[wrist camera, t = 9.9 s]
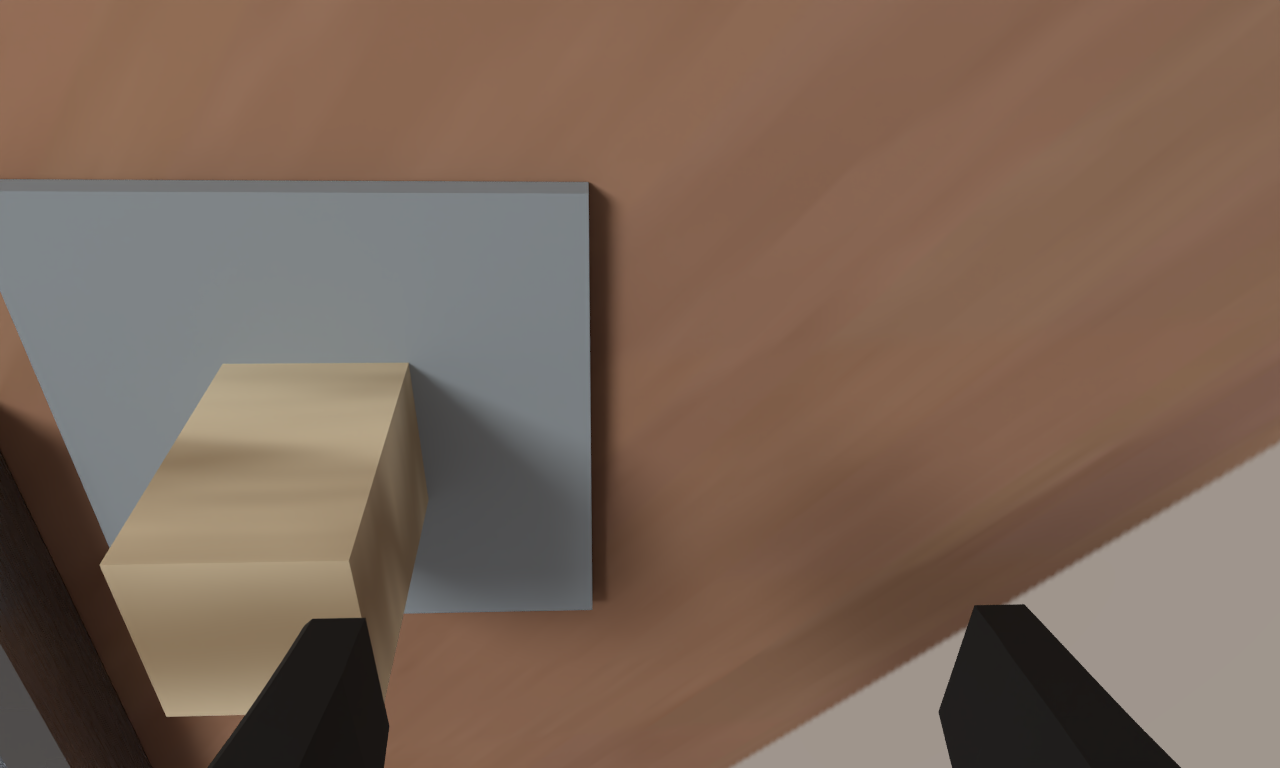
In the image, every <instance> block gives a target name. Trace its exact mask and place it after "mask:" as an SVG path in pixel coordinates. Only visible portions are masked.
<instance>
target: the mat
mask: <svg viewBox="0 0 1280 768" xmlns="http://www.w3.org/2000/svg"><path fill="white" fill-rule="evenodd" d="M0 292H1V294H2V296H3V299H4V301H5V303H6V306H7V308H8V310H9V313H10V315H11V317H12V320H13V322H14V324H15V327H16V329H17V332H18V334H19V336H20V339H21V341H22V343H23V346H24V348H25V350H26V353H27V355H28V357H29V360H30V362H31V364H32V367H33V369H34V371H35V374H36V376H37V379H38V381H39V383H40V386H41V388H42V390H43V393H44V395H45V397H46V400H47V402H48V404H49V407H50V409H51V411H52V414H53V416H54V419H55V421H56V423H57V426H58V428H59V430H60V433H61V435H62V437H63V440H64V442H65V444H66V447H67V449H68V451H69V454H70V456H71V458H72V461H73V463H74V466H75V468H76V470H77V473H78V475H79V477H80V480H81V482H82V484H83V487H84V489H85V491H86V494H87V496H88V498H89V501H90V503H91V505H92V508H93V510H94V513H95V515H96V517H97V520H98V522H99V524H100V527H101V529H102V531H103V534H104V536H105V538H106V541H107V543H108V545H109V548H110V547H111V545H112V544H113V542H114V540H115V539H116V537H117V536H118V534H119V532H120V531H121V529H122V527H123V526H124V524H125V522H126V521H127V519H128V518H129V516H130V514H131V513H132V511H133V509H134V508H135V506H136V504H137V503H138V501H139V500H140V498H141V496H142V495H143V493H144V491H145V490H146V488H147V487H148V485H149V483H150V482H151V480H152V478H153V477H154V475H155V473H156V472H157V470H158V469H159V467H160V465H161V464H162V462H163V460H164V459H165V457H166V455H167V454H168V452H169V451H170V449H171V447H172V446H173V444H174V442H175V441H176V439H177V438H178V436H179V434H180V433H181V431H182V429H183V428H184V426H185V424H186V423H187V421H188V420H189V418H190V416H191V415H192V413H193V411H194V410H195V408H196V406H197V405H198V403H199V402H200V400H201V398H202V397H203V395H204V393H205V392H206V390H207V389H208V387H209V385H210V384H211V382H212V380H213V379H214V377H215V375H216V374H217V372H218V371H219V369H220V367H221V366H222V364H275V363H409V368H410V375H411V382H412V389H413V396H414V403H415V410H416V417H417V424H418V430H419V437H420V444H421V451H422V458H423V465H424V472H425V479H426V486H427V493H428V499H429V500H428V505H427V509H426V514H425V518H424V523H423V527H422V532H421V537H420V541H419V546H418V550H417V555H416V559H415V564H414V569H413V573H412V578H411V582H410V587H409V591H408V596H407V601H406V605H405V610H404V613H454V612H505V611H555V610H592V512H591V401H590V289H589V182H456V181H246V180H35V179H0Z"/></svg>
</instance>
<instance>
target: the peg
mask: <svg viewBox="0 0 1280 768" xmlns="http://www.w3.org/2000/svg"><path fill="white" fill-rule="evenodd" d="M428 500H429V499H428V493H427V486H426V479H425V472H424V465H423V458H422V451H421V444H420V437H419V430H418V424H417V417H416V410H415V403H414V396H413V389H412V382H411V375H410V368H409V363H275V364H222V366H221V367H220V369H219V371H218V372H217V374H216V375H215V377H214V379H213V380H212V382H211V384H210V385H209V387H208V389H207V390H206V392H205V393H204V395H203V397H202V398H201V400H200V402H199V403H198V405H197V406H196V408H195V410H194V411H193V413H192V415H191V416H190V418H189V420H188V421H187V423H186V424H185V426H184V428H183V429H182V431H181V433H180V434H179V436H178V438H177V439H176V441H175V442H174V444H173V446H172V447H171V449H170V451H169V452H168V454H167V455H166V457H165V459H164V460H163V462H162V464H161V465H160V467H159V469H158V470H157V472H156V473H155V475H154V477H153V478H152V480H151V482H150V483H149V485H148V487H147V488H146V490H145V491H144V493H143V495H142V496H141V498H140V500H139V501H138V503H137V504H136V506H135V508H134V509H133V511H132V513H131V514H130V516H129V518H128V519H127V521H126V522H125V524H124V526H123V527H122V529H121V531H120V532H119V534H118V536H117V537H116V539H115V540H114V542H113V544H112V545H111V547H110V549H109V550H108V552H107V553H106V555H105V557H104V558H103V560H102V562H101V563H100V567H101V570H102V572H103V574H104V577H105V579H106V581H107V583H108V586H109V588H110V590H111V592H112V595H113V597H114V599H115V601H116V604H117V606H118V608H119V611H120V613H121V615H122V617H123V620H124V622H125V624H126V626H127V629H128V631H129V633H130V635H131V638H132V640H133V642H134V644H135V647H136V649H137V651H138V654H139V656H140V658H141V660H142V663H143V665H144V667H145V669H146V672H147V674H148V676H149V678H150V681H151V683H152V685H153V687H154V690H155V692H156V694H157V697H158V699H159V701H160V703H161V706H162V708H163V710H164V712H165V715H166V717H179V716H218V715H246V713H247V712H248V710H249V709H250V707H251V706H252V705H253V703H254V702H255V700H256V699H257V697H258V696H259V694H260V693H261V691H262V690H263V688H264V687H265V685H266V684H267V683H268V681H269V680H270V678H271V676H272V675H273V673H274V672H275V670H276V669H277V667H278V666H279V664H280V663H281V661H282V660H283V658H284V657H285V655H286V654H287V652H288V650H289V649H290V647H291V646H292V644H293V643H294V641H295V639H296V638H297V636H298V635H299V633H300V632H301V630H302V628H303V627H304V625H306V624H307V623H308V622H309V621H310V620H311V619H322V618H366V622H367V626H368V631H369V636H370V640H371V645H372V649H373V654H374V658H375V663H376V668H377V672H378V677H379V681H380V686H381V691H382V695H383V700H384V701H385V697H386V692H387V688H388V683H389V678H390V674H391V669H392V665H393V660H394V656H395V651H396V646H397V642H398V637H399V633H400V628H401V623H402V619H403V614H404V610H405V605H406V601H407V596H408V591H409V587H410V582H411V578H412V573H413V569H414V564H415V559H416V555H417V550H418V546H419V541H420V537H421V532H422V527H423V523H424V518H425V514H426V509H427V505H428Z"/></svg>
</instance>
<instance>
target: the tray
mask: <svg viewBox="0 0 1280 768" xmlns="http://www.w3.org/2000/svg"><path fill="white" fill-rule="evenodd" d="M0 768H152V767H151V765H150V763H149V761H148V759H147V757H146V755H145V753H144V751H143V748H142V746H141V744H140V742H139V740H138V738H137V736H136V734H135V732H134V730H133V728H132V726H131V723H130V721H129V719H128V717H127V715H126V713H125V711H124V709H123V707H122V705H121V703H120V701H119V698H118V696H117V694H116V692H115V690H114V688H113V686H112V684H111V682H110V680H109V678H108V676H107V673H106V671H105V669H104V667H103V665H102V663H101V661H100V659H99V657H98V655H97V653H96V651H95V648H94V646H93V644H92V642H91V640H90V638H89V636H88V634H87V632H86V630H85V628H84V626H83V623H82V621H81V619H80V617H79V615H78V613H77V611H76V609H75V607H74V605H73V603H72V601H71V598H70V596H69V594H68V592H67V590H66V588H65V586H64V584H63V582H62V580H61V578H60V576H59V573H58V571H57V569H56V567H55V565H54V563H53V561H52V559H51V557H50V555H49V553H48V551H47V548H46V546H45V544H44V542H43V540H42V538H41V536H40V534H39V532H38V530H37V528H36V526H35V523H34V521H33V519H32V517H31V515H30V513H29V511H28V509H27V507H26V505H25V503H24V501H23V498H22V496H21V494H20V492H19V490H18V488H17V486H16V484H15V482H14V480H13V478H12V476H11V473H10V471H9V469H8V467H7V465H6V463H5V461H4V459H3V457H2V455H1V453H0Z"/></svg>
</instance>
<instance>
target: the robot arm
mask: <svg viewBox="0 0 1280 768" xmlns="http://www.w3.org/2000/svg"><path fill="white" fill-rule="evenodd" d="M939 715H940V720H941V724H942V728H943V732H944V736H945V741H946V745H947V749H948V753H949V757H950V761H951V765H952V768H1181V767H1180V766H1179V765H1178V764H1177V763H1176V762H1175V761H1174V760H1173V759H1172V758H1171V757H1170V756H1168V754H1167V753H1166V752H1165V751H1164V750H1163V749H1162V748H1161V747H1160V746H1159V745H1158V744H1157V743H1156V742H1155V741H1154V740H1153V739H1152V738H1151V737H1150V736H1149V735H1148V734H1147V733H1146V732H1145V731H1144V730H1143V729H1142V728H1141V727H1140V726H1139V725H1138V724H1137V723H1136V722H1135V721H1134V720H1133V719H1132V718H1131V717H1130V716H1129V715H1128V714H1127V713H1126V712H1125V711H1124V709H1123V708H1121V706H1120V705H1119V704H1118V703H1117V702H1116V701H1115V700H1114V699H1113V698H1112V697H1111V696H1110V695H1109V694H1108V693H1107V692H1106V691H1105V690H1104V689H1103V687H1102V686H1101V685H1100V684H1099V683H1098V682H1097V681H1096V680H1095V679H1094V678H1093V677H1092V676H1091V675H1090V674H1089V673H1088V672H1087V670H1086V669H1085V668H1084V667H1083V666H1082V665H1081V664H1080V663H1079V662H1078V661H1077V660H1076V659H1075V658H1074V657H1073V655H1072V654H1071V653H1070V652H1069V651H1068V650H1067V649H1066V648H1065V647H1064V646H1063V645H1062V644H1061V643H1060V642H1059V641H1058V640H1057V638H1056V637H1054V635H1053V634H1052V633H1051V632H1050V631H1049V630H1048V629H1047V628H1046V627H1045V626H1044V625H1043V624H1042V622H1041V621H1040V620H1039V619H1038V618H1037V617H1036V616H1035V615H1034V614H1033V613H1032V612H1031V611H1030V610H1029V609H1028V608H1027V607H1026V606H1025V605H1024V604H1022V605H975V606H974V609H973V612H972V615H971V618H970V620H969V623H968V626H967V629H966V632H965V636H964V638H963V641H962V644H961V647H960V650H959V653H958V656H957V659H956V662H955V665H954V668H953V671H952V674H951V677H950V680H949V683H948V686H947V689H946V692H945V694H944V697H943V700H942V703H941V706H940V709H939ZM388 732H389V723H388V718H387V714H386V709H385V704H384V700H383V695H382V691H381V686H380V681H379V677H378V672H377V668H376V663H375V658H374V654H373V649H372V645H371V640H370V636H369V631H368V626H367V622H366V618H322V619H311V620H310V621H309V622H308V623H307V624H306V625H304V627H303V628H302V630H301V632H300V633H299V635H298V636H297V638H296V639H295V641H294V643H293V644H292V646H291V647H290V649H289V650H288V652H287V654H286V655H285V657H284V658H283V660H282V661H281V663H280V664H279V666H278V667H277V669H276V670H275V672H274V673H273V675H272V676H271V678H270V680H269V681H268V683H267V684H266V685H265V687H264V688H263V690H262V691H261V693H260V694H259V696H258V697H257V699H256V700H255V702H254V703H253V705H252V706H251V707H250V709H249V710H248V712H247V713H246V715H245V716H244V718H243V719H242V721H241V722H240V723H239V725H238V726H237V728H236V729H235V731H234V732H233V733H232V735H231V736H230V738H229V739H228V740H227V742H226V743H225V744H224V746H223V747H222V748H221V750H220V751H219V753H218V754H217V755H216V757H215V758H214V759H213V761H212V762H211V764H210V765H209V766H208V768H384V762H385V755H386V747H387V740H388Z"/></svg>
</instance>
